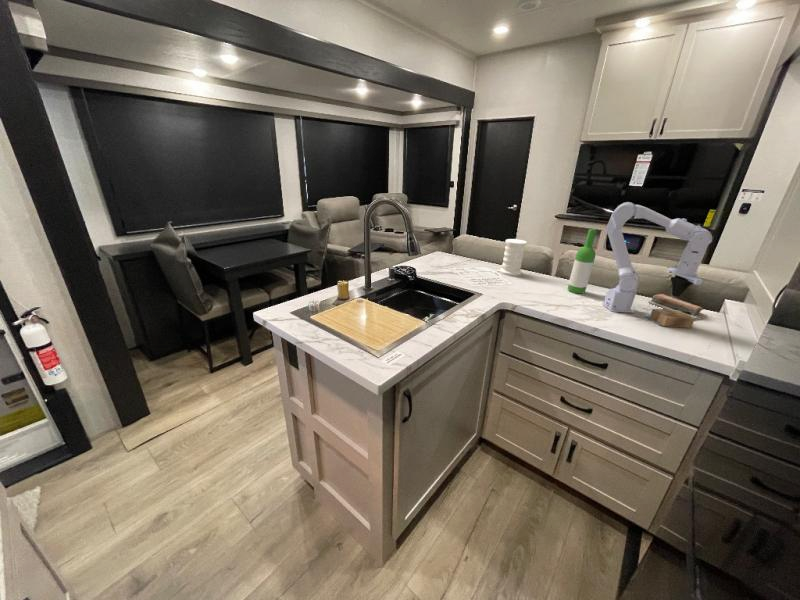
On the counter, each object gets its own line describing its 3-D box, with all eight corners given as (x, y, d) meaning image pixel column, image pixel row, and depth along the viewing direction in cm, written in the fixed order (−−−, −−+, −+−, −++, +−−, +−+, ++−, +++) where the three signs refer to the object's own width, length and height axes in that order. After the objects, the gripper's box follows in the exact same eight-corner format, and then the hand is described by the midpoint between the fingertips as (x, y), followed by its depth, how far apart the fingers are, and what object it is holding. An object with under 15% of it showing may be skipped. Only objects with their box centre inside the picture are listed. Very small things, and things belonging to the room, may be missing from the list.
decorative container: (519, 270, 180) (525, 239, 173) (522, 276, 169) (529, 244, 162) (498, 268, 182) (503, 238, 175) (500, 275, 171) (506, 242, 164)
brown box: (667, 317, 117) (652, 308, 125) (663, 326, 119) (649, 316, 126) (694, 319, 117) (678, 310, 124) (691, 327, 118) (675, 318, 126)
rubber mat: (659, 325, 119) (659, 325, 119) (645, 316, 127) (646, 316, 127) (692, 327, 119) (692, 327, 119) (676, 318, 126) (676, 317, 126)
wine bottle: (588, 293, 149) (606, 230, 138) (577, 295, 147) (594, 231, 135) (574, 287, 156) (591, 227, 144) (563, 289, 153) (579, 227, 141)
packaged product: (649, 294, 138) (663, 291, 142) (646, 304, 140) (659, 301, 144) (698, 310, 123) (712, 307, 127) (693, 321, 125) (707, 318, 129)
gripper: (717, 268, 108) (701, 304, 114) (686, 257, 122) (673, 289, 127) (696, 267, 109) (681, 302, 114) (667, 256, 122) (654, 288, 127)
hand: (675, 296), depth 121 cm, fingers closed
